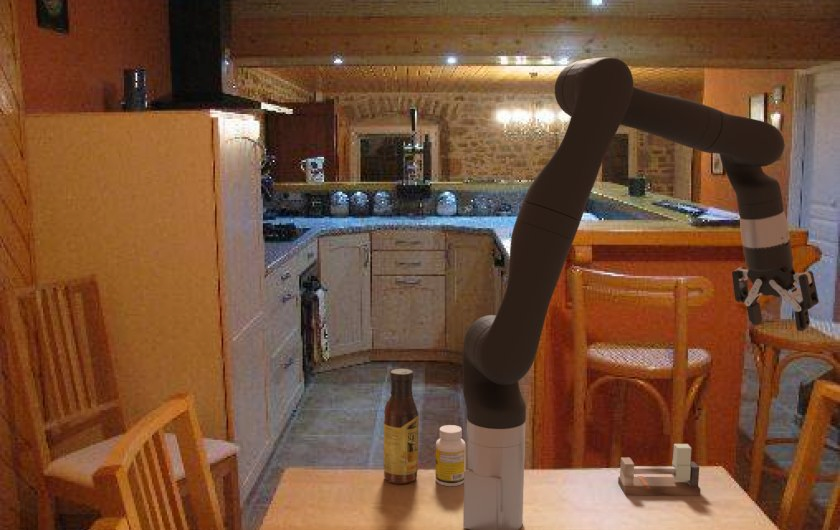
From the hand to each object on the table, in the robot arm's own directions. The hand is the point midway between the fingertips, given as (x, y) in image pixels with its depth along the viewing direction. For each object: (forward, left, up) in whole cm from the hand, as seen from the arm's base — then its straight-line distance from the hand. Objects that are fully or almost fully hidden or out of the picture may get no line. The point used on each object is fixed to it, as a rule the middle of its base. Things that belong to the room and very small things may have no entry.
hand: (779, 326), depth 143 cm
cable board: (-14, +16, -29) cm, 36 cm away
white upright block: (-12, +12, -26) cm, 32 cm away
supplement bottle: (-32, +48, -29) cm, 64 cm away
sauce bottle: (-36, +56, -29) cm, 72 cm away
